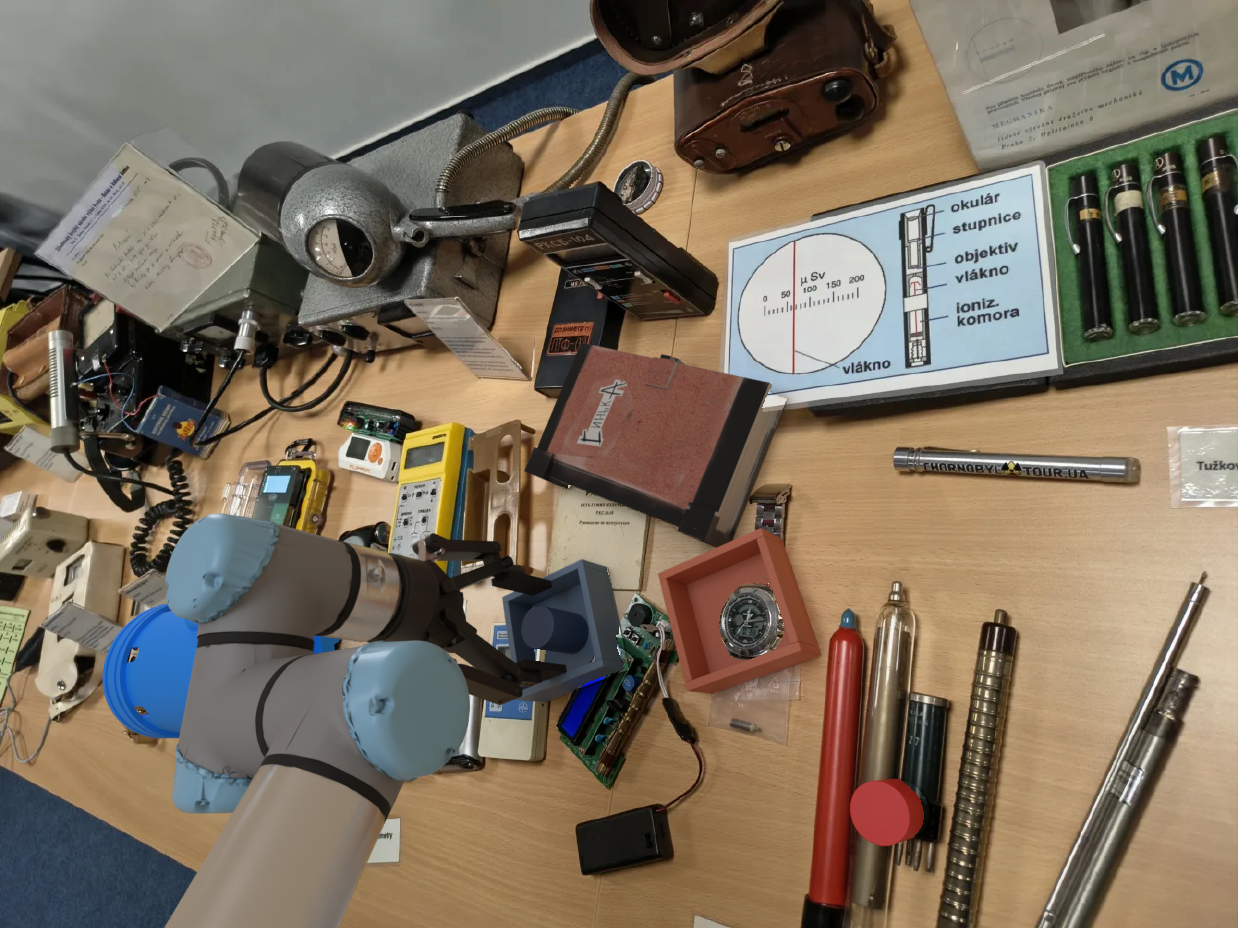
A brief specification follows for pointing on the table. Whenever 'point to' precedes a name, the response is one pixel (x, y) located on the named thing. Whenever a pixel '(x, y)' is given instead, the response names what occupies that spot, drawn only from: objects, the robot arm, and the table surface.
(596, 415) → the book
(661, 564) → the table surface
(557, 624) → the blue canister
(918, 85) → the table surface
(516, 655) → the blue bin
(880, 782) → the red canister
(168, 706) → the blue pipe coupling
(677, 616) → the red bin
